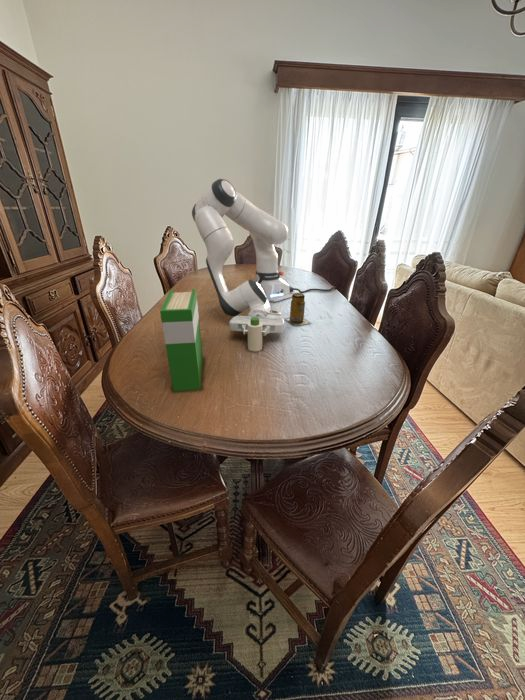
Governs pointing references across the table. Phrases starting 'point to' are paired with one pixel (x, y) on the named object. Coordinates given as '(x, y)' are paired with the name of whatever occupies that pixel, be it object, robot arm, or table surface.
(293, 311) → the condiment
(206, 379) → the table surface
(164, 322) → the hardback book
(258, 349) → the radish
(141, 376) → the table surface
